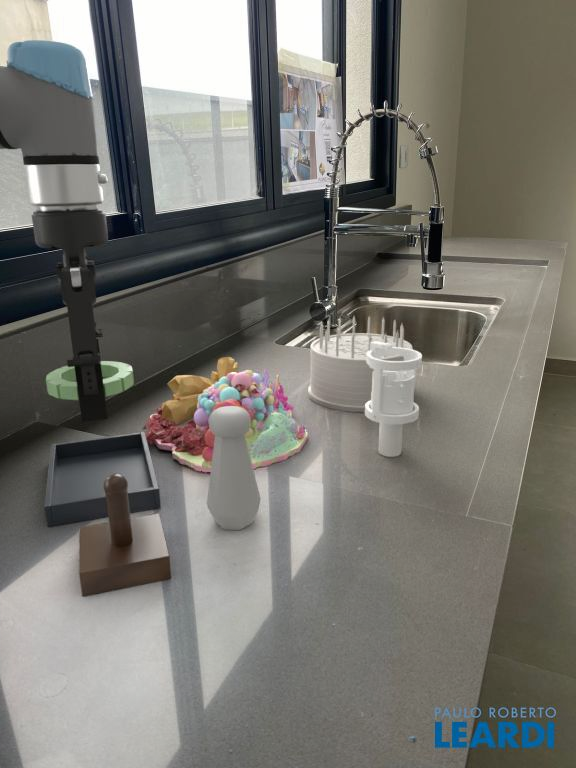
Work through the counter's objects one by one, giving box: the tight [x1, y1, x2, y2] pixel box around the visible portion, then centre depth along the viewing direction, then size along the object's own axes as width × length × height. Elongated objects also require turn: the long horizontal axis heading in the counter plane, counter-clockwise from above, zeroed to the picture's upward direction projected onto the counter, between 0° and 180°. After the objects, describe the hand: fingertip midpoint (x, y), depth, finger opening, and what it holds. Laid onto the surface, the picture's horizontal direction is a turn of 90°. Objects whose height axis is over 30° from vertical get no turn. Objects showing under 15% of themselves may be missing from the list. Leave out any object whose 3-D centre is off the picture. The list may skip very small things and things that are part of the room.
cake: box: [307, 315, 414, 413], centre depth 103 cm, size 18×18×13 cm
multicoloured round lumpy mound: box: [141, 356, 309, 473], centre depth 88 cm, size 25×24×9 cm
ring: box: [45, 360, 135, 401], centre depth 71 cm, size 10×10×2 cm
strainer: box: [364, 341, 423, 458], centre depth 80 cm, size 7×7×15 cm
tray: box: [43, 431, 162, 528], centre depth 75 cm, size 12×17×2 cm
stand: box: [78, 474, 172, 597], centre depth 58 cm, size 8×8×10 cm
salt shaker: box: [206, 406, 262, 531], centre depth 64 cm, size 6×6×13 cm
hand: (93, 403), depth 72 cm, fingers closed on ring, 10 cm apart
